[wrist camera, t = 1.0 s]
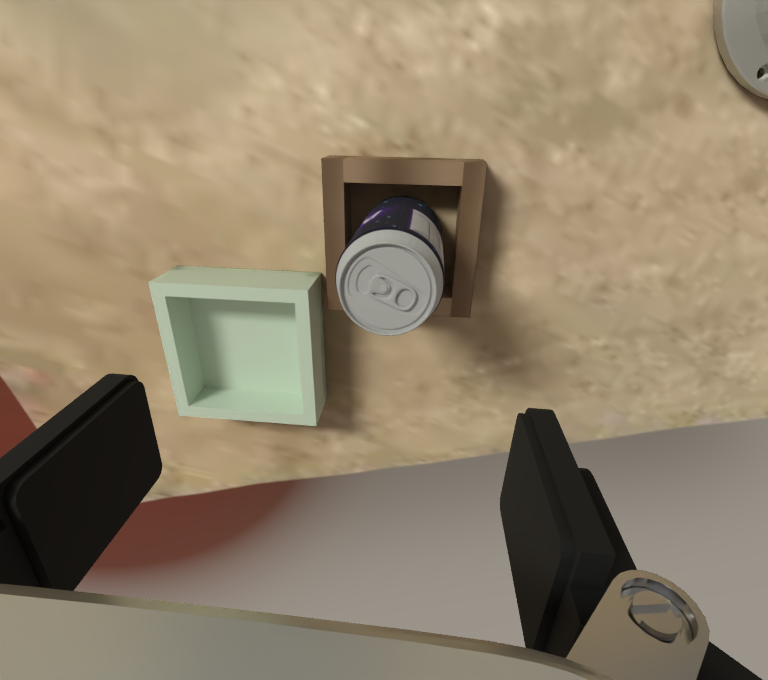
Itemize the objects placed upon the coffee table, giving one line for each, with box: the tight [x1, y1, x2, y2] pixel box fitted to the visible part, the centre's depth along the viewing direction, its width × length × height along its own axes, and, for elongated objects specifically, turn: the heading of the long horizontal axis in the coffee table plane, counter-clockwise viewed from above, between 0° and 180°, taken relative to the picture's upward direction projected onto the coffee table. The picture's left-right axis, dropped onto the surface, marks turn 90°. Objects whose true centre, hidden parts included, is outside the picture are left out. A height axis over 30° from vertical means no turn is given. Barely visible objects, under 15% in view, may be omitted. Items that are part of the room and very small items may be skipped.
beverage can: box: [335, 196, 445, 336], centre depth 27 cm, size 6×6×12 cm
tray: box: [148, 266, 327, 426], centre depth 36 cm, size 12×12×4 cm
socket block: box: [321, 156, 487, 318], centre depth 31 cm, size 10×10×2 cm
